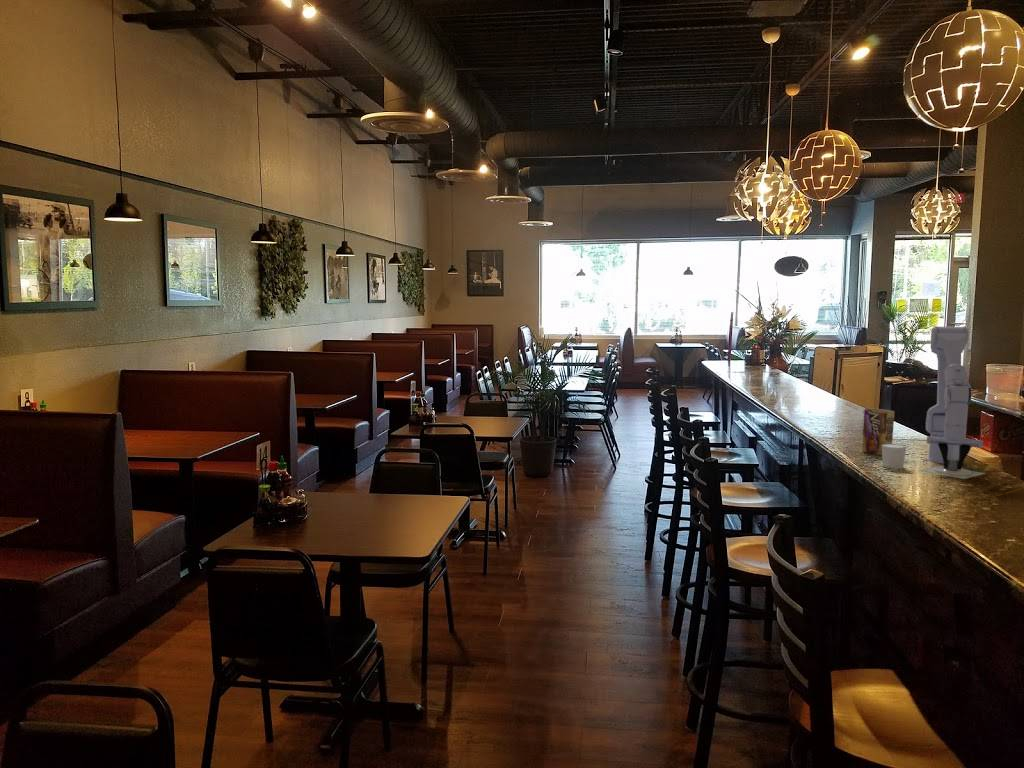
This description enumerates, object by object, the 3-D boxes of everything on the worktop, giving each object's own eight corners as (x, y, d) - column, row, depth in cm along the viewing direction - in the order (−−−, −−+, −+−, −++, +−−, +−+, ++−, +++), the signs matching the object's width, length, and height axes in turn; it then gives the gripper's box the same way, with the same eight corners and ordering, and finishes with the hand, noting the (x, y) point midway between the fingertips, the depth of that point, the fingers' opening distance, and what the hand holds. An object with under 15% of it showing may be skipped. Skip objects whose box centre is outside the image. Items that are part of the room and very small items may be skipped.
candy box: (892, 455, 251) (895, 410, 249) (883, 456, 249) (886, 411, 247) (869, 450, 259) (872, 407, 257) (861, 451, 257) (863, 408, 255)
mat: (940, 466, 234) (940, 465, 234) (985, 474, 223) (985, 473, 223) (919, 471, 227) (919, 470, 227) (964, 480, 216) (964, 478, 216)
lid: (943, 466, 232) (943, 455, 231) (977, 472, 224) (978, 461, 223) (926, 470, 226) (927, 459, 226) (961, 477, 218) (962, 465, 218)
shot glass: (907, 470, 228) (909, 448, 227) (883, 469, 229) (885, 447, 229) (900, 465, 235) (902, 444, 234) (877, 464, 236) (879, 443, 235)
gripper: (929, 424, 223) (925, 468, 224) (985, 428, 216) (981, 473, 218) (927, 421, 229) (924, 464, 231) (982, 424, 223) (978, 469, 224)
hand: (952, 468), depth 225 cm, fingers closed on lid, 3 cm apart
